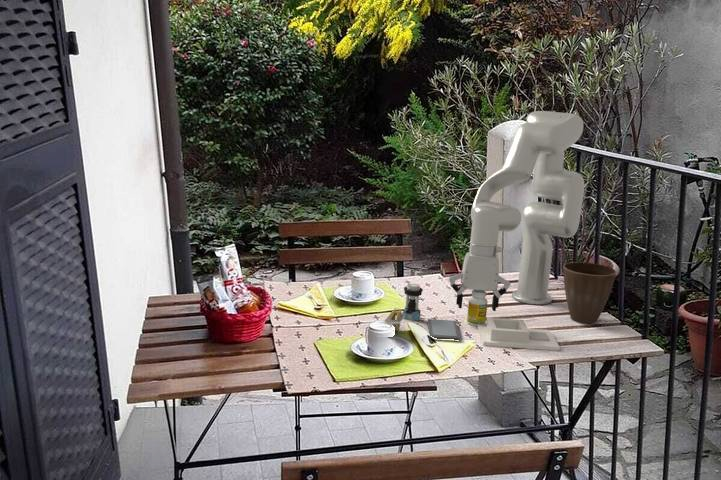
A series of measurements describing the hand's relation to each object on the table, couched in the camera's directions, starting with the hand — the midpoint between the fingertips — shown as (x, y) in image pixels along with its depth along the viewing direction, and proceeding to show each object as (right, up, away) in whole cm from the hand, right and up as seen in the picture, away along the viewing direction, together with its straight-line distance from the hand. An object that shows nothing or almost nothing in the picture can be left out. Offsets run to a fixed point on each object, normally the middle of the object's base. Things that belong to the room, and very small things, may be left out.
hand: (476, 308), depth 209 cm
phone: (-10, -6, -7) cm, 14 cm away
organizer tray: (+10, -8, -10) cm, 15 cm away
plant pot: (+33, -5, +10) cm, 35 cm away
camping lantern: (-18, -3, +2) cm, 18 cm away
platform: (-24, -6, -10) cm, 27 cm away
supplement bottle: (0, -5, +1) cm, 5 cm away
